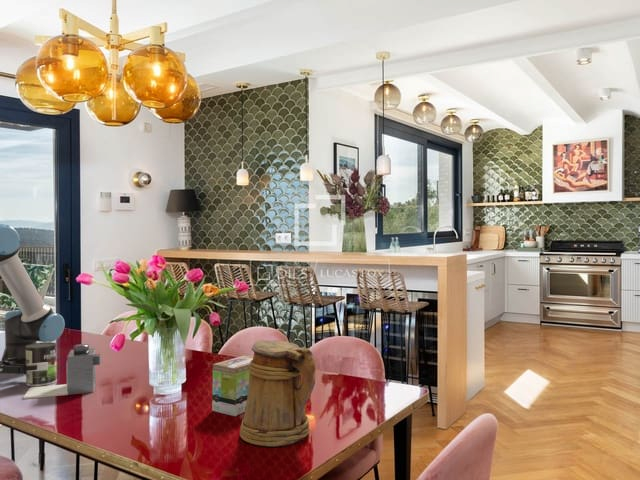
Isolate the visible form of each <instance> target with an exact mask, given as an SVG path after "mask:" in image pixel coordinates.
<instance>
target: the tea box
mask: <svg viewBox="0 0 640 480" xmlns="http://www.w3.org/2000/svg"><path fill="white" fill-rule="evenodd" d="M253 357H254V356H252V355H251V356H249V355H240V356H237V357H233V358H229V359H227V360H223V361H220V362H216V363H213V364H212V392H211V393H212V404H211V406H212V407H211V408H212V411H213V412H216V413H219V414H223V415H224V414H225V415H228V416H231V417H237V416H238V415H240V414H243V413H245V409H246V403H247V396H248V389H249V381H250V374H251V373H250V372H249V368H250V362H251V360H253Z"/></svg>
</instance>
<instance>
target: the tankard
mask: <svg viewBox="0 0 640 480" xmlns="http://www.w3.org/2000/svg"><path fill="white" fill-rule="evenodd" d="M251 351H253V356H252V357H253V360H251V362H250V368H249V372H250V373H251V374H250V381H249V389H248V396H247V403H246V409H245V412H244V417H243V419H242V421H241V425H240V427H239V428H240V430H239V437H240V438H241V440H243V441H245V442H247V443H249V444H252V445H256V446H261V447H270V448H271V447H275V448H276V447H285V446H290V445H294V444H296V443H298V442H300V441H303V440H304V439H305V438H306V437H307V436H308V434H309V432H310V420H309V417H308V416H307V415H306V407H305V405H306V404H307V402H308V400H309V399H310V397H311V396H312V392H313V390H314V388H315V383H316V379H317V378H316V365H315V360H314V358H313V353H312V352H313V351H312V350H310V348H303V347H300V346H299V345H298V344H296V343H294V342H289V341H285V340H276V339H275V340H273V339H272V340H270V339H266V340H261V339H258V340H256V341H255V342H254V343H253V345H252V346H251Z"/></svg>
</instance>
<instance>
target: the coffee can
mask: <svg viewBox="0 0 640 480" xmlns="http://www.w3.org/2000/svg"><path fill="white" fill-rule="evenodd" d="M25 349H26V365H27V364H30V363H43V362H48V370H42V371H30V372H27V374H25V385H26V386H28V387H42V386H51V385H53V384H55V383H57V381H58V378H57V377H58V376H57V373H58V372H57V343H56V342H53V341H52V342H37V343H34V344H30V345H27V346H25Z"/></svg>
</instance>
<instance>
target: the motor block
mask: <svg viewBox="0 0 640 480" xmlns="http://www.w3.org/2000/svg"><path fill="white" fill-rule="evenodd" d="M66 358H67V360H66V365H65V366H66V384H67V391H68V395H79V394H80V395H81V394H89V393H94V390H95V388H96V366H99V365H101V353H96V347H90V344H88V343H81V344H75V345H73V349H70V351H69V352H68V354H67V356H66ZM68 395H67V396H68Z"/></svg>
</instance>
